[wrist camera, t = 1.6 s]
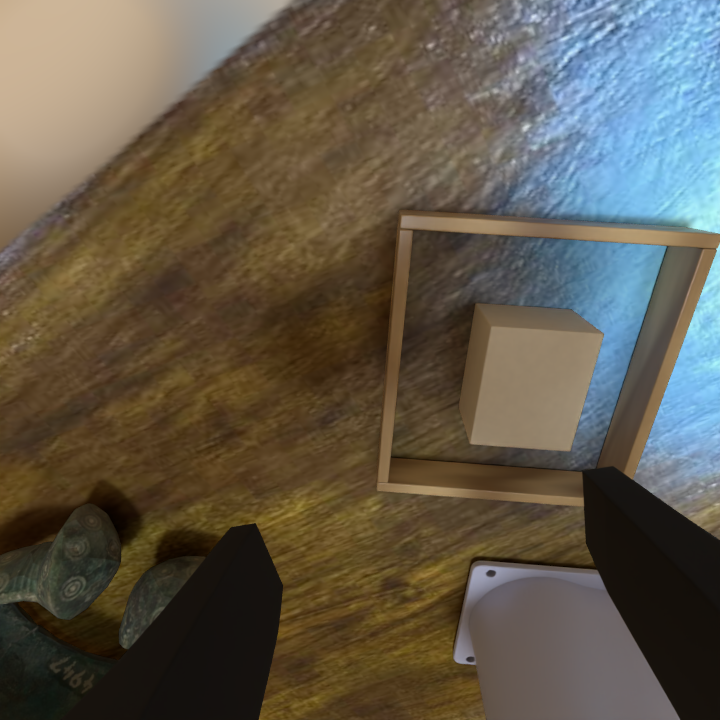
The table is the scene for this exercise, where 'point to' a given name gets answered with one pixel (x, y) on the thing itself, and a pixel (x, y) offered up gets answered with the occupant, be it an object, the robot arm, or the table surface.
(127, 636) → the dark green rounded piece
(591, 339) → the block
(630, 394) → the wooden frame
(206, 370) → the table surface
